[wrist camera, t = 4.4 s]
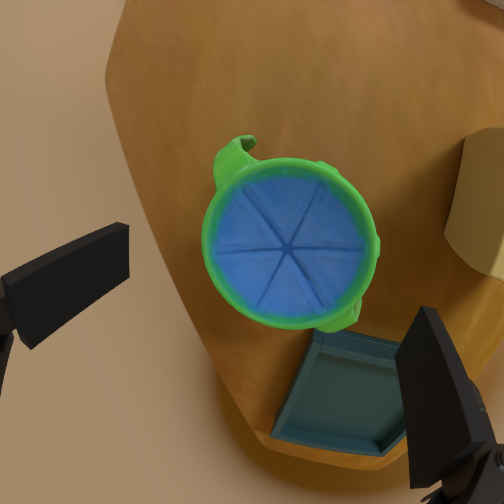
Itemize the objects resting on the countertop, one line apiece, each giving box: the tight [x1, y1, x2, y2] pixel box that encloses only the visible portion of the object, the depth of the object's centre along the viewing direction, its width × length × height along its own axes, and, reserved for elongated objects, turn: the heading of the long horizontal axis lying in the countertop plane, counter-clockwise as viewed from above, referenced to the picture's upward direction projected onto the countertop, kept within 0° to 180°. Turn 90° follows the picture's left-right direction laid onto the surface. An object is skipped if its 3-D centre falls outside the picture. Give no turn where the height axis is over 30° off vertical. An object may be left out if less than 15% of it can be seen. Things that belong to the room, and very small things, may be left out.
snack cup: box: [201, 135, 380, 333], centre depth 20 cm, size 16×10×10 cm
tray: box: [270, 328, 406, 457], centre depth 28 cm, size 18×19×4 cm
